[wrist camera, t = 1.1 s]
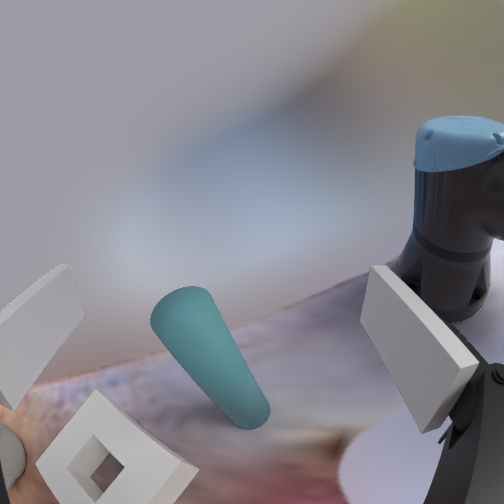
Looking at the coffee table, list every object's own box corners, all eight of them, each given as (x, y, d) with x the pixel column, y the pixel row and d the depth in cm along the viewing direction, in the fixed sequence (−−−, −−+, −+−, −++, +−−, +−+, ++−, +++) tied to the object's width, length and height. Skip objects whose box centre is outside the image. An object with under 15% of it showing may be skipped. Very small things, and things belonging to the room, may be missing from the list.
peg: (277, 402, 29) (226, 294, 18) (257, 435, 26) (183, 348, 15) (243, 389, 31) (178, 280, 21) (223, 419, 28) (138, 324, 18)
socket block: (200, 469, 23) (181, 461, 21) (127, 555, 14) (102, 554, 11) (115, 403, 32) (95, 388, 29) (57, 474, 22) (34, 463, 20)
